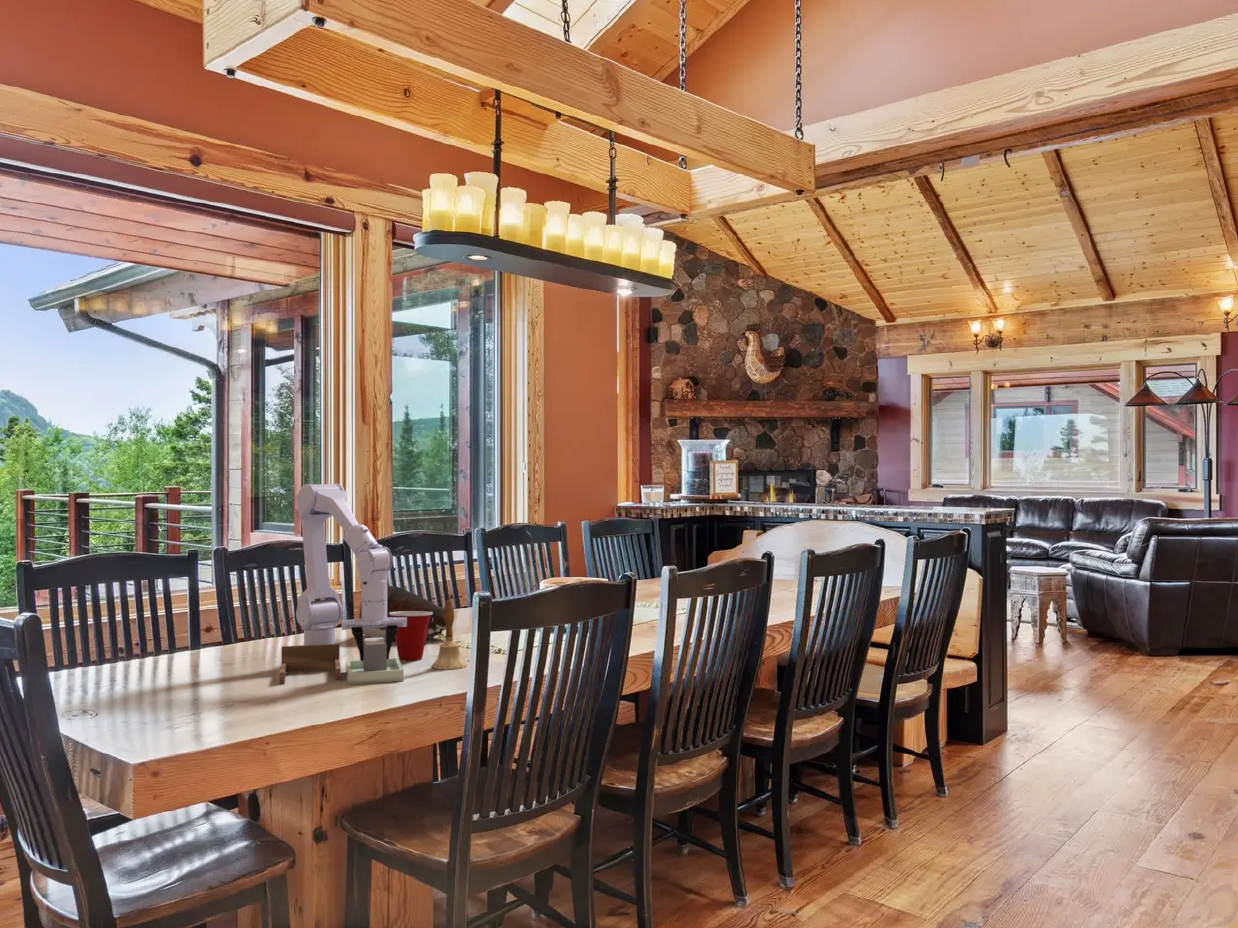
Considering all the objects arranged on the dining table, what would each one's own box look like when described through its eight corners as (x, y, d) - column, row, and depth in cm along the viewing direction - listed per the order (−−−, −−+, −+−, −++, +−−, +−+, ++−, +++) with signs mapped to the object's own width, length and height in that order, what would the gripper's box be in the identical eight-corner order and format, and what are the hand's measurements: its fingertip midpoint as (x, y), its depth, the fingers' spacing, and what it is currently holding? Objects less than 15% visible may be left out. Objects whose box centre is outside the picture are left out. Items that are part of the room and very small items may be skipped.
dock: (281, 671, 223) (281, 646, 223) (339, 668, 227) (339, 643, 227) (279, 684, 211) (279, 657, 211) (340, 680, 215) (340, 653, 215)
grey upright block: (362, 664, 222) (362, 637, 222) (384, 663, 224) (384, 636, 224) (363, 671, 214) (364, 644, 214) (386, 670, 216) (386, 643, 216)
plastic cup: (438, 654, 244) (438, 608, 244) (425, 663, 233) (425, 614, 233) (397, 653, 245) (397, 607, 245) (382, 662, 234) (382, 613, 235)
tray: (346, 671, 224) (346, 660, 224) (398, 668, 228) (398, 657, 228) (348, 684, 211) (348, 673, 211) (403, 680, 214) (403, 669, 214)
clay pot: (445, 601, 257) (364, 581, 263) (432, 657, 256) (351, 636, 262) (467, 601, 271) (389, 581, 277) (454, 654, 270) (376, 633, 276)
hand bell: (459, 670, 225) (459, 603, 225) (426, 669, 227) (426, 602, 227) (471, 663, 234) (471, 598, 234) (439, 662, 235) (439, 597, 235)
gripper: (342, 604, 213) (342, 664, 213) (408, 601, 218) (408, 660, 218) (341, 599, 220) (341, 658, 220) (405, 597, 224) (405, 654, 224)
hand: (374, 659), depth 219 cm, fingers closed on grey upright block, 5 cm apart
